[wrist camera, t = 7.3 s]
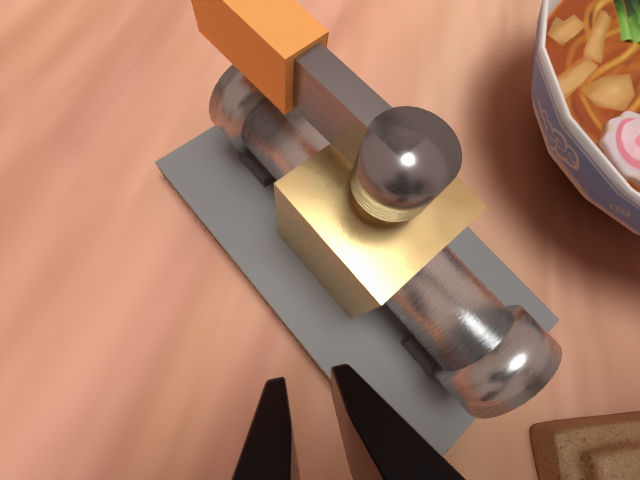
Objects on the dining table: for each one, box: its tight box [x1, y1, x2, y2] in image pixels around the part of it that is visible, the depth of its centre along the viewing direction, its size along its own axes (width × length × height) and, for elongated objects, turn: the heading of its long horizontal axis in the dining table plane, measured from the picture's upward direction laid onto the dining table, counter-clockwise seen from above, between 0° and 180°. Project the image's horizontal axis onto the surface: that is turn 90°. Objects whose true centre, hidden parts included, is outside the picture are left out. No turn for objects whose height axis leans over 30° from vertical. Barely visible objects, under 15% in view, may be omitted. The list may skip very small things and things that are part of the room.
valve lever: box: [191, 0, 462, 222], centre depth 13 cm, size 12×3×3 cm, turn 43°
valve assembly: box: [155, 65, 562, 457], centre depth 17 cm, size 22×12×8 cm, turn 41°
